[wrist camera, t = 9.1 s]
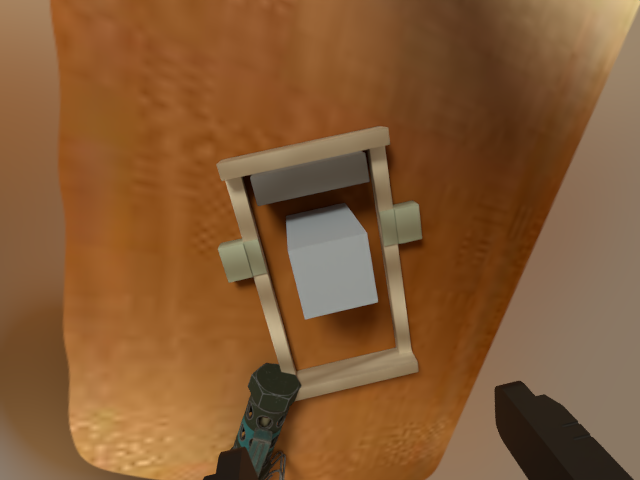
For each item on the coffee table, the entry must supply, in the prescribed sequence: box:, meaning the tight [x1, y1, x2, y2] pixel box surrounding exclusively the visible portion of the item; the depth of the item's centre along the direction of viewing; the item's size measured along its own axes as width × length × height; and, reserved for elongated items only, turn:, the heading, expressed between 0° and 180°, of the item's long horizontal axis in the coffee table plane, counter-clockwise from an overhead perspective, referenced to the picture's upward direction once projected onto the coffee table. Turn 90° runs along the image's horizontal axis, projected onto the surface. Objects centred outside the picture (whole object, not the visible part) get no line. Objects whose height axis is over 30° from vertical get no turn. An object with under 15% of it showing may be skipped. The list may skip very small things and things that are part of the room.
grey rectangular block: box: [286, 203, 378, 319], centre depth 27 cm, size 5×5×8 cm
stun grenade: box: [231, 363, 302, 480], centre depth 34 cm, size 6×6×14 cm
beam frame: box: [217, 126, 422, 401], centre depth 30 cm, size 22×16×4 cm
